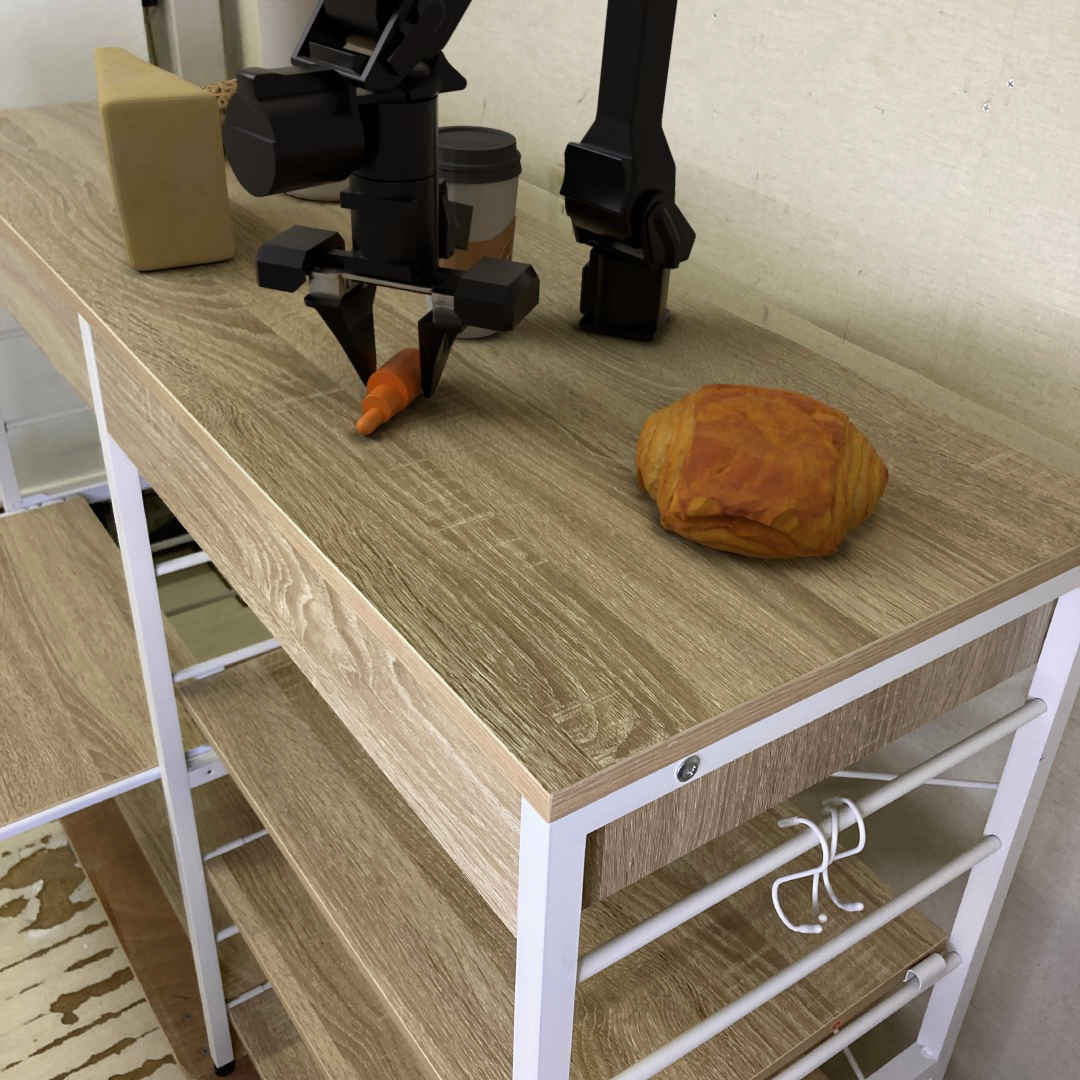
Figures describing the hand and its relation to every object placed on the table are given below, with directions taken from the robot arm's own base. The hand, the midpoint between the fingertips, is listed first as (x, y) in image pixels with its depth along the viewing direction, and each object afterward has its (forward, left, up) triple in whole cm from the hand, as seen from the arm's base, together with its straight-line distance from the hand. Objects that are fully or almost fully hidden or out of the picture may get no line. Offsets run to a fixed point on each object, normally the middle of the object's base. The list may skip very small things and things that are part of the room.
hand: (399, 390), depth 78 cm
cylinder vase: (+29, -44, -1) cm, 53 cm away
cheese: (+37, -23, -1) cm, 43 cm away
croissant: (-26, +4, -1) cm, 26 cm away
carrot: (0, +1, -1) cm, 1 cm away
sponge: (+49, -53, -1) cm, 72 cm away
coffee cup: (+1, -15, -1) cm, 15 cm away
